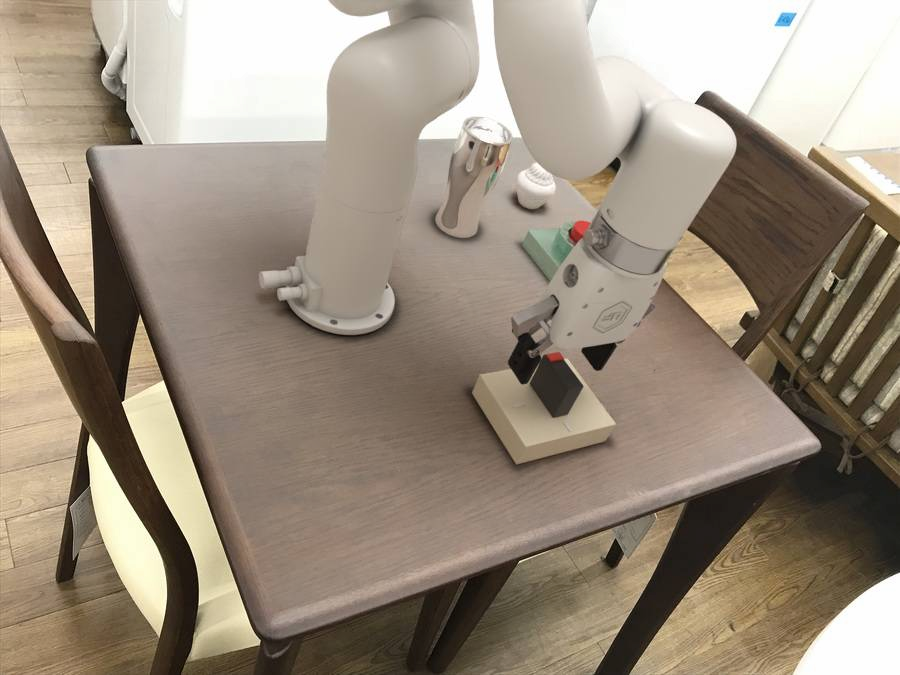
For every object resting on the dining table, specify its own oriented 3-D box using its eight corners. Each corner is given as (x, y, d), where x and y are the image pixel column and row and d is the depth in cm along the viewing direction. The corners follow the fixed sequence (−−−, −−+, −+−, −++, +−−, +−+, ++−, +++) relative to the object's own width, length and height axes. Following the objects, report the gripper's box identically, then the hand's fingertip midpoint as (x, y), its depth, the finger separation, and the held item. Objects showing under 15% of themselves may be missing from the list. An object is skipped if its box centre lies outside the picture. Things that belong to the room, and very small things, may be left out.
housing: (554, 287, 103) (567, 261, 100) (521, 245, 108) (532, 219, 105) (621, 279, 109) (635, 254, 106) (587, 239, 114) (599, 215, 111)
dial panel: (516, 464, 78) (526, 445, 76) (471, 392, 84) (479, 373, 82) (605, 441, 84) (617, 423, 82) (558, 375, 90) (567, 357, 88)
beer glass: (475, 246, 104) (510, 151, 95) (426, 229, 104) (457, 132, 94) (483, 220, 110) (517, 127, 100) (437, 204, 110) (467, 109, 100)
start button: (579, 249, 103) (584, 239, 102) (564, 231, 106) (568, 221, 105) (602, 247, 105) (607, 237, 104) (586, 229, 108) (591, 219, 107)
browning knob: (567, 414, 81) (585, 384, 78) (552, 418, 80) (569, 387, 77) (543, 380, 84) (559, 350, 81) (529, 383, 83) (544, 352, 80)
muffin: (501, 197, 116) (516, 157, 111) (525, 187, 120) (540, 148, 115) (532, 219, 114) (548, 180, 109) (555, 209, 118) (572, 170, 113)
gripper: (577, 274, 62) (503, 408, 73) (721, 260, 71) (636, 382, 82) (531, 216, 66) (468, 351, 77) (673, 210, 75) (598, 332, 86)
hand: (554, 367), depth 79 cm, fingers open, 9 cm apart
